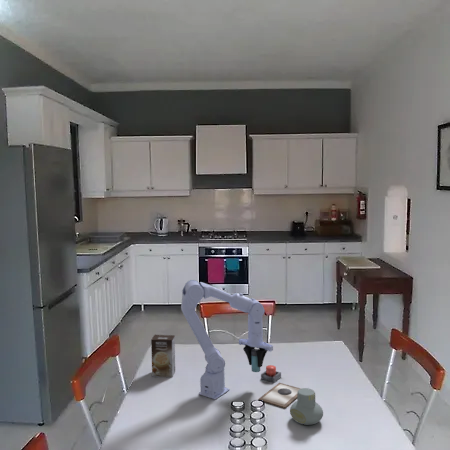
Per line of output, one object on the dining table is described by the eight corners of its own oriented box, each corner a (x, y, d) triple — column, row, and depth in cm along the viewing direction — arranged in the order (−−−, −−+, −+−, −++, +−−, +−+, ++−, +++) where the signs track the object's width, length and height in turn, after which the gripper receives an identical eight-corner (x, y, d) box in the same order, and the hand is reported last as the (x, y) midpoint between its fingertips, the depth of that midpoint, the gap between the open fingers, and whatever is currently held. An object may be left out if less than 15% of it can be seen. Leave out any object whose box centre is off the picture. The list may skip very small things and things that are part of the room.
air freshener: (285, 418, 149) (285, 389, 148) (302, 410, 154) (302, 382, 153) (310, 431, 140) (310, 401, 139) (327, 423, 145) (327, 393, 144)
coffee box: (151, 377, 183) (150, 339, 182) (155, 370, 190) (154, 334, 188) (172, 377, 182) (171, 339, 181) (176, 371, 189) (175, 334, 187)
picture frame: (285, 408, 155) (285, 406, 155) (258, 400, 161) (258, 398, 161) (304, 391, 168) (304, 389, 168) (279, 384, 174) (279, 382, 174)
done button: (272, 377, 177) (272, 370, 177) (264, 375, 179) (264, 367, 179) (277, 374, 180) (277, 366, 180) (269, 371, 183) (269, 364, 182)
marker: (257, 373, 169) (257, 352, 169) (249, 371, 171) (249, 351, 171) (262, 369, 172) (262, 350, 172) (254, 367, 174) (254, 348, 174)
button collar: (273, 382, 176) (273, 377, 176) (261, 379, 179) (260, 374, 179) (281, 377, 181) (281, 372, 180) (268, 373, 184) (268, 369, 184)
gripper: (276, 331, 170) (277, 365, 171) (245, 325, 178) (245, 358, 179) (267, 337, 164) (268, 372, 165) (235, 330, 172) (236, 363, 173)
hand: (255, 365), depth 172 cm, fingers closed on marker, 3 cm apart
